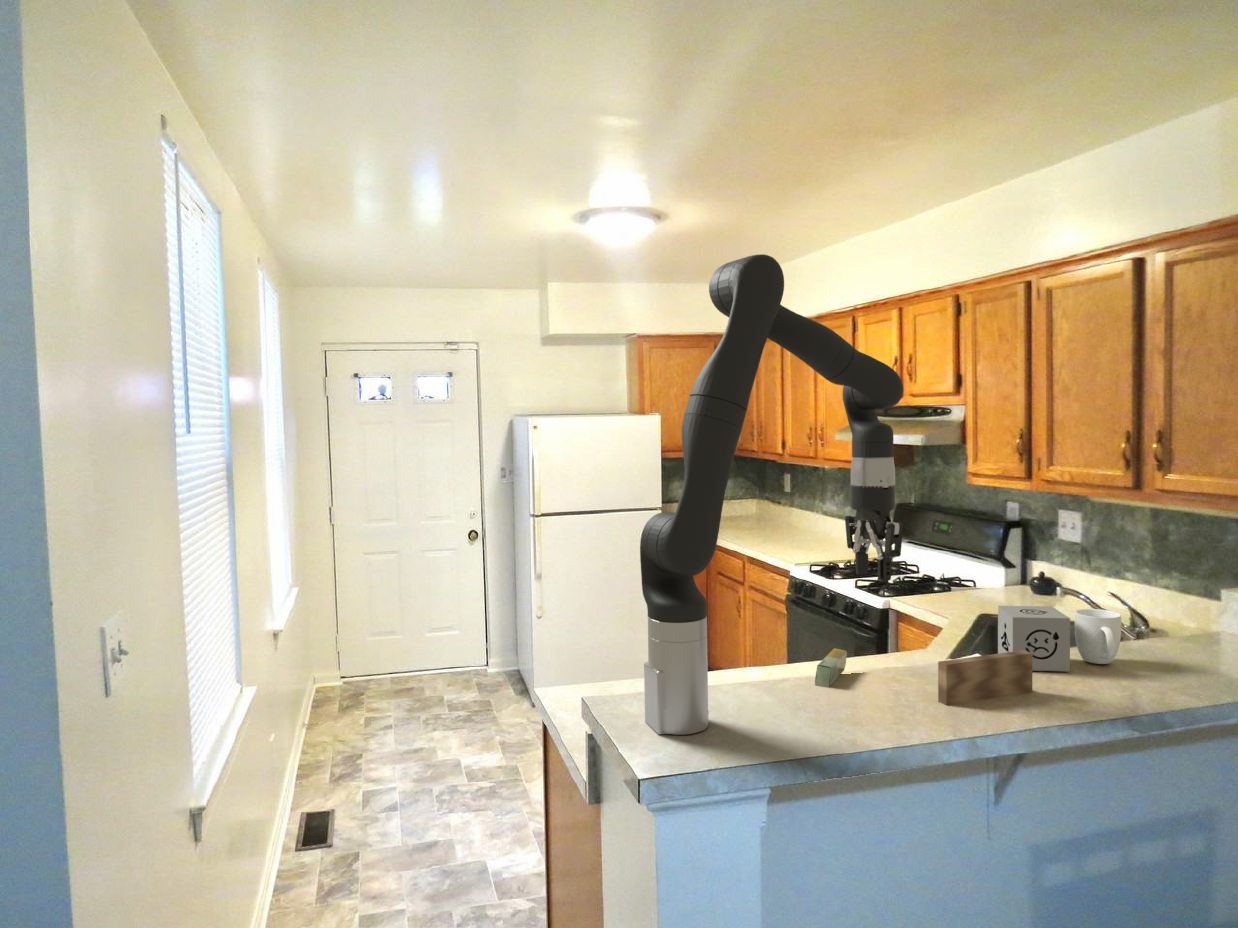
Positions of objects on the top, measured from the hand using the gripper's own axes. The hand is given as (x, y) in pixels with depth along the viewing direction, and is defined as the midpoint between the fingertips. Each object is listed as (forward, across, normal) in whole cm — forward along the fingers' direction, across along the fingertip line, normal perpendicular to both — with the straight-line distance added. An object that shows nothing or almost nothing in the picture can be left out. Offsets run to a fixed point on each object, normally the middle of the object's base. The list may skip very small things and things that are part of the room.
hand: (873, 576), depth 150 cm
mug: (+20, +4, +48) cm, 52 cm away
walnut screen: (+20, +12, +14) cm, 27 cm away
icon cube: (+20, -1, +36) cm, 41 cm away
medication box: (+20, -7, -4) cm, 21 cm away
